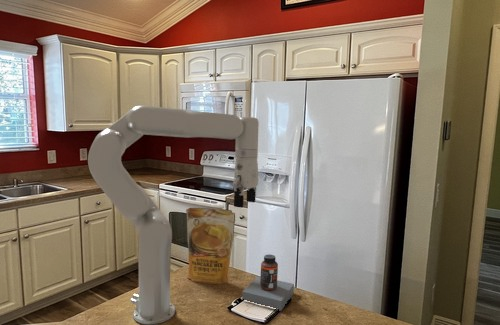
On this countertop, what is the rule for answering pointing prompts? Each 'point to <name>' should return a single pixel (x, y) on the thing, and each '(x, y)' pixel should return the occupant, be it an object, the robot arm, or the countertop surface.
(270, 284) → the supplement bottle
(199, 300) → the countertop surface
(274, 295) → the slate riser block
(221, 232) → the pancake mix bag
